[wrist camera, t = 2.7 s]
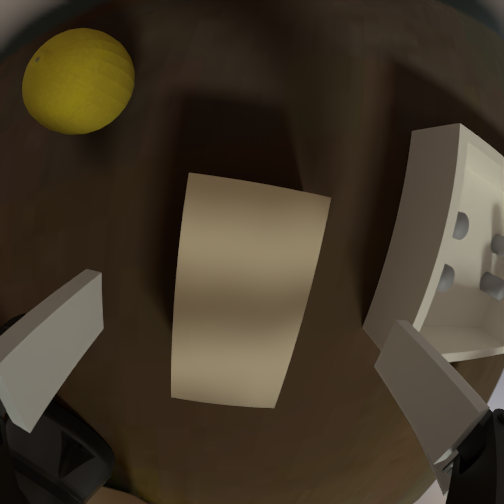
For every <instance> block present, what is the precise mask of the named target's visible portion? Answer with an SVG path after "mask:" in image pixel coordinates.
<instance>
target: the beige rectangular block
mask: <svg viewBox="0 0 504 504" xmlns="http://www.w3.org/2000/svg"><path fill="white" fill-rule="evenodd" d="M330 201H331V198H330V197H325V196H321V195H316V194H312V193H307V192H302V191H297V190H292V189H287V188H282V187H277V186H272V185H266V184H261V183H255V182H249V181H243V180H237V179H231V178H224V177H217V176H210V175H203V174H196V173H189V176H188V182H187V189H186V195H185V202H184V210H183V217H182V225H181V234H180V243H179V252H178V262H177V273H176V285H175V298H174V314H173V333H172V364H171V397H173V398H179V399H185V400H192V401H198V402H206V403H214V404H223V405H233V406H246V407H263V408H274V407H275V404H276V402H277V399H278V396H279V393H280V390H281V387H282V384H283V381H284V378H285V375H286V372H287V368H288V365H289V362H290V359H291V356H292V352H293V349H294V346H295V342H296V339H297V336H298V332H299V329H300V325H301V322H302V318H303V315H304V311H305V307H306V304H307V300H308V296H309V292H310V289H311V285H312V281H313V277H314V273H315V269H316V265H317V260H318V256H319V252H320V248H321V243H322V239H323V234H324V230H325V225H326V221H327V216H328V211H329V206H330Z"/></svg>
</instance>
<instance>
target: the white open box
mask: <svg viewBox="0 0 504 504" xmlns="http://www.w3.org/2000/svg"><path fill="white" fill-rule="evenodd" d="M395 320H406V321H408V322H409V323H410V324H411V325H412V326H413V327H414V328H415V329H416V330H417V331H418V332H419V333H420V334H421V335H422V336H423V337H424V338H425V339H426V340H427V341H428V342H429V343H430V344H431V345H432V346H433V347H434V348H435V349H436V350H437V351H438V352H439V353H440V354H441V355H442V356H443V357H444V358H445V359H446V360H447V361H448V362H455V361H462V360H469V359H476V358H482V357H487V356H493V355H498V354H503V353H504V157H503V156H502V155H501V154H500V153H498V152H497V151H496V150H495V149H494V148H492V147H491V146H490V145H489V144H487V143H486V142H485V141H484V140H482V139H481V138H480V137H478V136H477V135H476V134H474V133H473V132H472V131H470V130H469V129H468V128H466V127H465V126H463V125H462V124H460V123H458V124H451V125H444V126H438V127H432V128H426V129H420V130H415V131H412V134H411V142H410V150H409V156H408V163H407V169H406V175H405V180H404V186H403V191H402V196H401V200H400V205H399V210H398V214H397V218H396V222H395V226H394V230H393V234H392V238H391V242H390V245H389V249H388V253H387V256H386V260H385V263H384V266H383V269H382V273H381V276H380V279H379V282H378V285H377V288H376V291H375V294H374V297H373V300H372V303H371V305H370V308H369V311H368V314H367V316H366V319H365V322H364V324H363V327H362V328H363V329H364V331H365V332H366V333H367V334H368V336H369V337H370V338H371V339H372V341H373V342H374V343H375V344H376V346H377V347H378V348H379V349H380V351H382V349H383V347H384V344H385V342H386V340H387V338H388V336H389V333H390V331H391V329H392V326H393V324H394V322H395Z"/></svg>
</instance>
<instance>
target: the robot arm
mask: <svg viewBox="0 0 504 504" xmlns="http://www.w3.org/2000/svg"><path fill="white" fill-rule="evenodd" d="M103 329H104V328H103V312H102V273H101V272H97V271H93V270H89V269H86V270H84V271H83V272H82V273H80V274H79V275H77V276H76V277H75V278H73V279H72V280H70V281H69V282H68V283H66V284H65V285H64V286H62V287H61V288H59V289H58V290H57V291H55V292H54V293H53V294H51V295H50V296H49V297H48V298H46V299H45V300H44V301H42V302H41V303H40V304H38V305H37V306H36V307H35V308H33V309H32V310H31V311H30V312H28V313H27V314H25V313H23V314H21V315H18V316H16V317H14V318H12V319H11V320H9V321H8V322H7V323H6V324H4V327H1V328H0V504H87V502H88V501H89V500H90V499H91V498H92V497H93V496H94V494H95V493H96V492H97V491H98V490H99V489H100V488H101V487H102V485H103V484H104V483H105V482H106V481H107V480H108V479H109V477H110V476H111V474H112V470H113V467H114V464H115V457H114V454H113V452H112V451H111V449H110V448H109V447H108V445H107V444H106V443H105V442H104V441H103V440H102V439H101V438H100V437H99V436H98V435H97V434H96V433H95V432H94V431H93V430H92V429H90V428H89V427H88V426H87V425H86V424H84V423H83V422H82V421H80V420H79V419H78V418H76V417H75V416H74V415H72V414H71V413H69V412H68V411H66V410H65V409H63V408H62V407H60V406H58V405H57V404H55V403H53V402H52V401H51V400H52V398H53V397H54V395H55V394H56V393H57V391H58V390H59V388H60V387H61V385H62V384H63V382H64V381H65V380H66V378H67V377H68V375H69V374H70V373H71V371H72V370H73V368H74V367H75V366H76V364H77V363H78V361H79V360H80V359H81V357H82V356H83V355H84V353H85V352H86V351H87V349H88V348H89V347H90V345H91V344H92V343H93V341H94V340H95V339H96V338H97V336H98V335H99V334H100V332H101V331H102V330H103ZM374 367H375V369H376V370H377V372H378V373H379V375H380V377H381V378H382V380H383V381H384V383H385V384H386V386H387V388H388V389H389V391H390V392H391V394H392V395H393V397H394V399H395V400H396V402H397V404H398V405H399V407H400V408H401V410H402V412H403V413H404V415H405V417H406V418H407V420H408V422H409V423H410V425H411V427H412V428H413V430H414V432H415V433H416V435H417V437H418V438H419V440H420V442H421V443H422V445H423V447H424V449H425V450H426V452H427V454H428V456H429V457H430V459H431V461H432V463H433V464H436V463H438V462H441V461H443V460H446V459H447V458H448V457H449V456H450V455H451V454H452V453H453V452H454V451H455V450H456V449H457V451H458V452H459V453H458V454H457V455H456V456H455V457H454V458H453V459H452V460H451V461H450V462H449V463H448V464H447V465H446V466H445V467H444V468H443V470H442V472H443V473H444V472H445V471H446V470H447V469H448V468H449V467H452V468H451V469H450V470H449V471H448V472H447V473H446V474H450V475H451V479H450V485H449V490H448V495H447V500H446V504H504V410H503V409H495V410H494V411H493V412H492V411H491V410H490V409H489V406H488V405H487V404H486V403H485V402H484V401H483V399H482V398H481V397H480V396H479V395H478V394H477V393H476V391H475V390H474V389H473V388H472V387H471V386H470V385H469V384H468V383H467V382H466V380H465V379H464V378H463V377H462V376H461V375H460V374H459V373H458V372H457V371H456V370H455V369H454V368H453V366H452V365H451V364H450V363H449V362H448V361H447V360H446V359H445V358H444V357H443V356H442V355H441V354H440V353H439V352H438V351H437V350H436V349H435V348H434V347H433V346H432V345H431V344H430V343H429V342H428V341H427V340H426V339H425V338H424V337H423V336H422V335H421V334H420V333H419V332H418V331H417V330H416V329H415V328H414V327H413V326H412V325H411V324H410V323H409V322H408V321H406V320H395V322H394V324H393V326H392V329H391V331H390V333H389V336H388V338H387V340H386V342H385V344H384V347H383V349H382V351H381V353H380V355H379V357H378V359H377V361H376V363H375V365H374ZM5 411H6V413H5ZM4 413H5V416H4V420H3V417H2V415H3V414H4Z"/></svg>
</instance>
